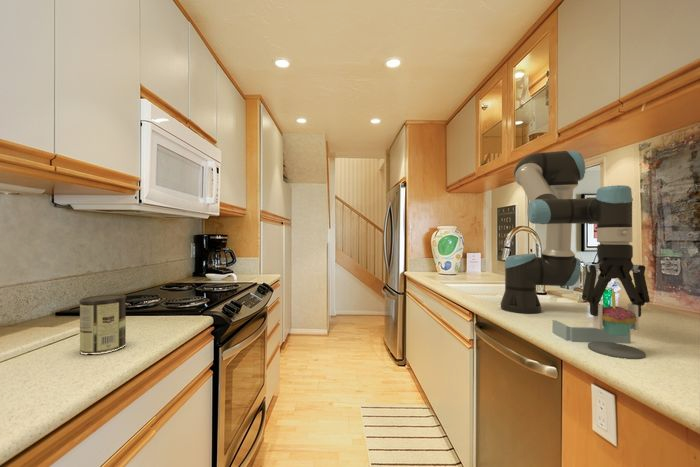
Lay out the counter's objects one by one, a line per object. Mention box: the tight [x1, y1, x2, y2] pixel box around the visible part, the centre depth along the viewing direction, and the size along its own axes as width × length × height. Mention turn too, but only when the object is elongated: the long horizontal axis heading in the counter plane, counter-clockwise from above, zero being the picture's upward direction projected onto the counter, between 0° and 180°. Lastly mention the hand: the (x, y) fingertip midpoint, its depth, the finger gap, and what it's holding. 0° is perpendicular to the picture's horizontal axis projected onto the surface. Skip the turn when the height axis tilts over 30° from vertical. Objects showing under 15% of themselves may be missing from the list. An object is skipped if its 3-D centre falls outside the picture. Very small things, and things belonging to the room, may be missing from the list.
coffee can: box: [79, 293, 127, 354], centre depth 91 cm, size 10×10×14 cm
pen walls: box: [551, 319, 632, 344], centre depth 101 cm, size 9×17×4 cm, turn 85°
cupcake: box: [602, 289, 637, 336], centre depth 90 cm, size 9×8×12 cm
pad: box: [587, 342, 646, 360], centre depth 90 cm, size 12×12×1 cm
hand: (615, 328), depth 90 cm, fingers closed on cupcake, 8 cm apart
